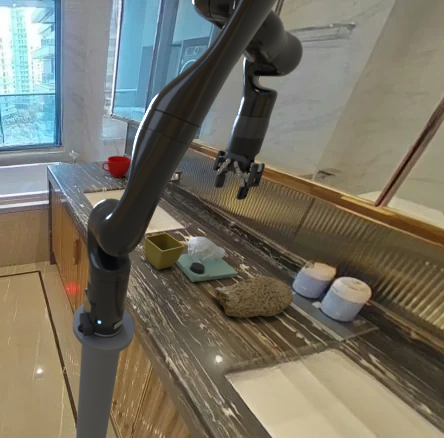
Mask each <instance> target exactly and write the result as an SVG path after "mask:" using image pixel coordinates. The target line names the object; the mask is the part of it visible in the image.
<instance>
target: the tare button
mask: <svg viewBox="0 0 444 438" xmlns="http://www.w3.org/2000/svg"><path fill="white" fill-rule="evenodd" d="M190 269H191V271H192V272H194V273H196V274H202V273H203V272H204V269H205V267H204V265H202V264H201V263H197V262H194V263H192V265H191V268H190Z"/></svg>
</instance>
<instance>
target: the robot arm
mask: <svg viewBox="0 0 444 438" xmlns="http://www.w3.org/2000/svg"><path fill="white" fill-rule="evenodd" d="M277 1H278V0H191V2H192V6H193V10H194V11H195V13H196V14H197V15H198V16H199V17H201V18H202V19H204V20H205V21H207V22H209V23H210V24H212V25H213V26H215V27H216V28H218V29H219V30H220V31H219V32H218V34H217V35H216V37H215V38H214V40H213V41H212V42H211V44H210V45H209V46H208V48H207V49H206V50H205V51H204V52H203V53H202V54H201V55H200V56H199V57H198V58H197V59H196V60H194V61H193V62H192V63H191V64H190V65H189V66H187V68H185V69H184V70H183V71H181V72H180V73H179V74H178V75H176V76H175V77H174V78H173V79H171V80H170V81H169V82H168V83H167V84H165V85H164V86H163V87H162V88H161V89H160V90H159V91H157V93H156V94H155V96H154V97H153V98H152V100H151V102H150V104H149V105H148V108H147V109H146V112H145V114H144V116H143V118H142V119H141V122H140V124H139V126H138V128H137V131H136V134H135V137H134V139H133V145H132V151H131V158H130V159H131V162H130V167H129V174H128V178H127V181H126V186H125V188H124V190H123V192H122V194H121V197H120V199H118V198H111V197H110V198H105V199H101V200H100V201H98V202H97V203H96V204H95V205H94V206H93V207H92V209H91V210H90V213H89V215H88V218H87V227H86V255H87V261H88V268H87V269H88V270H87V284H86V288H84V291H83V304H84V305H83V304H82V305H83V313H80V325H79V326H78V331H79V332H81V333H83V334H84V336H89V335H96V336H98V337H102V338H111V337H114V336H116V335H117V334H119V333H120V331H121V329H122V324H123V315H124V309H125V307H126V301H127V296H128V290H129V289H128V287H129V281H130V276H131V271H132V261H131V258H130V253H132V252H133V251H134V250H136V248H137V247H138V246H139V245H140V243H141V242H142V240H143V238H145V237H144V236H145V234H146V233H147V230H148V228H149V225H150V223H151V221H152V219H153V216H154V214H155V211H156V209H157V207H158V205H159V202H160V201H161V199H162V196H163V195H164V193H165V191H166V189H167V187H168V185H169V184H170V182H171V180H172V178H173V176H174V174H175V172H176V170H177V169H178V167H179V165H180V163H181V161H182V159H183V158H184V156H185V155H186V153H187V151H188V149H189V148H190V146H191V145H192V143H193V141H194V140H195V138H196V136H197V134H198V132H199V131H200V128H201V127H202V125H203V123H204V121H205V119H206V118H207V115H208V114H209V112H210V110H211V108H212V107H213V105H214V102H215V101H216V100H217V97H218V95H219V93H220V92H221V90H222V88H223V87H224V85H225V82H226V81H227V80H228V78H229V76H230V75H231V73H232V71H233V70H234V68H235V66H236V65H237V63H238V62H239V60H240V58H241V57H242V56H244V57H243V61H242V92H241V98H240V103H239V106H238V109H237V112H236V116H235V118H234V120H233V123H232V125H231V129H230V133H229V136H228V140H227V144H226V146H225V149H221V150H219V149H218V151H217V154H216V158H215V161H214V163H213V166H212V171H215V172H216V175H217V176H216V178H215V182H214V187H215V188H217V189H219V188H223V187H224V185H225V181H226V179H227V174H228V173H229V172H232V173H233V174H235V175H236V178H237V179H238V180H239V184H240V185H239V187H238V191H237V193H236V196H235V199H237V200H238V201H243V200H245V199H246V198H247V197H248V194H249V193H250V189H251V188H256V187H259V186H260V184H261V181H262V177H263V173H264V171H265V168H266V164H265V163H264V162H256V161H255V159H256V157H257V156H258V155H259V154H260V152H261V149H262V146H263V143H264V140H265V137H266V135H267V132H268V129H269V126H270V119H271V116H272V114H273V111H274V108H275V105H276V102H277V100H278V96H279V95H278V94H279V93H278V90H276V89H274V88H270V87H266V86H264V85H262V84H261V83H260V80H259V77H265V78H266V77H269V78H270V77H271V78H272V77H273V78H280V77H285V76H288V75H290V74H291V73H293V72H294V71H295V70H296V69H297V68H298V66H300V64H301V61H302V59H303V54H304V49H303V44H302V42H301V40H300V39H299V38H298V37H297V36H295V35H294V34H292V33H291V32H289V31H288V30H286V29H285V26H284V22H283V21H282V19H281V17H280V15H278V13H277V12H276V11H275V10H273V8H274V7H275V5H276V3H277ZM81 328H82V329H81Z"/></svg>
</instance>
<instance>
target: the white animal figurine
mask: <svg viewBox="0 0 444 438" xmlns="http://www.w3.org/2000/svg"><path fill="white" fill-rule="evenodd" d="M187 254H189V255H190V256H191V257H192V258H193V260H194V261H195V262H197V263H201V261H200V260H199V259H198V258H197V257H198V256H201V255H202V256H204V258H203V259H202V261H203V262H204V261H207V260H210V259H212V258H214V259H217V260H221V258H222V259H223V258H224V257H225V256H226V250H225V249H224V248H223V247H221V246H217V245H216V244H215V243H214V242H213V241H212V240H210V239H209V238H207V237H206V236H193V237H191V238H190V240H188V241H187Z"/></svg>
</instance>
